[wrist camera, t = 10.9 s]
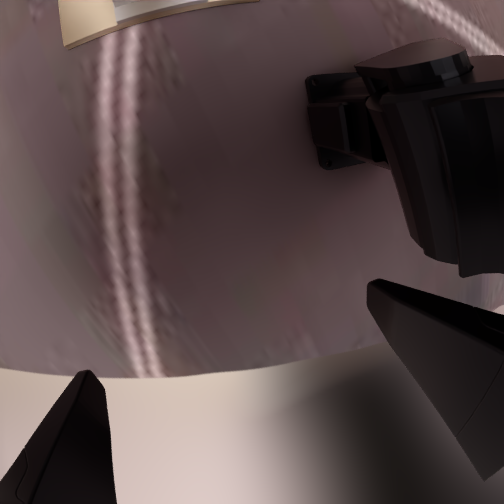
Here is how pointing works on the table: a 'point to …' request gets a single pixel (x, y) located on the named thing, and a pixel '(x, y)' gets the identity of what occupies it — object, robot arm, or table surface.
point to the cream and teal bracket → (119, 15)
